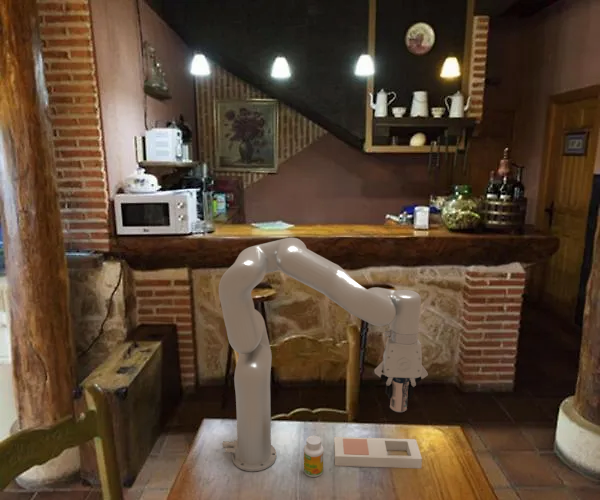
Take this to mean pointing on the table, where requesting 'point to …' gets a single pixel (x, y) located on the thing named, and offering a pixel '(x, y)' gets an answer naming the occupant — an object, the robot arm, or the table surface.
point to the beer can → (399, 394)
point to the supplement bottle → (313, 457)
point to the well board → (376, 452)
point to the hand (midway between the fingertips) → (399, 396)
